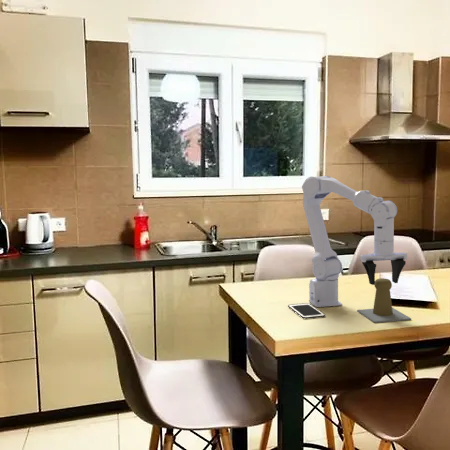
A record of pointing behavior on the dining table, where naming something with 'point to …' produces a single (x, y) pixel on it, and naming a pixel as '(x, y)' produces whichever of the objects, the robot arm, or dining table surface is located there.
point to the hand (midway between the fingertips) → (383, 283)
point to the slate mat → (377, 319)
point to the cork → (383, 297)
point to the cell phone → (306, 310)
